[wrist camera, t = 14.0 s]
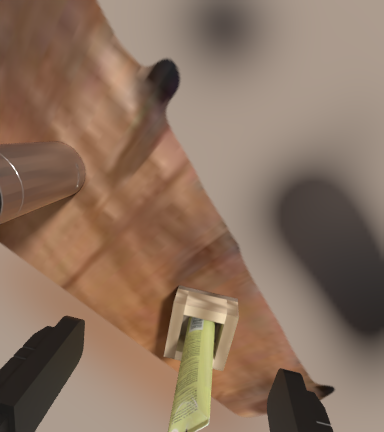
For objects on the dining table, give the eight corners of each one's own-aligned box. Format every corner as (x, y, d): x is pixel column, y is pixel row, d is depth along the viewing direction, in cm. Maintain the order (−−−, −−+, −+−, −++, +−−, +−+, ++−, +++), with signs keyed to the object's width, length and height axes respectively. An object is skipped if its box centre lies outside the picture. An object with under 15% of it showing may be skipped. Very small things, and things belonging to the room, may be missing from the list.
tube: (214, 336, 49) (206, 457, 31) (187, 332, 50) (164, 450, 31) (216, 311, 48) (209, 424, 29) (188, 308, 48) (165, 417, 30)
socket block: (169, 336, 52) (163, 356, 47) (178, 285, 48) (173, 302, 43) (223, 349, 51) (223, 371, 47) (237, 298, 47) (239, 317, 43)
